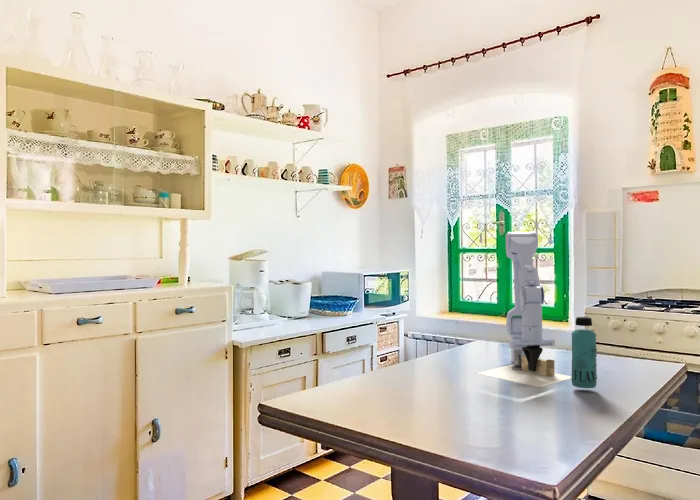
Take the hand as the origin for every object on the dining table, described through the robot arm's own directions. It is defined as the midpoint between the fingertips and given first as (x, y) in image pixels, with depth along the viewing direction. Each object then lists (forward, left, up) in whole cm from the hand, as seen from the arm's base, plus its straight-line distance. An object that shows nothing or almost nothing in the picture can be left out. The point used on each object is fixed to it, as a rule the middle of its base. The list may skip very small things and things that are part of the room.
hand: (532, 370), depth 165 cm
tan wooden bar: (-2, 0, -1) cm, 2 cm away
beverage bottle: (+3, +18, -2) cm, 18 cm away
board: (+3, -1, -2) cm, 3 cm away
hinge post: (-3, -7, -2) cm, 8 cm away
